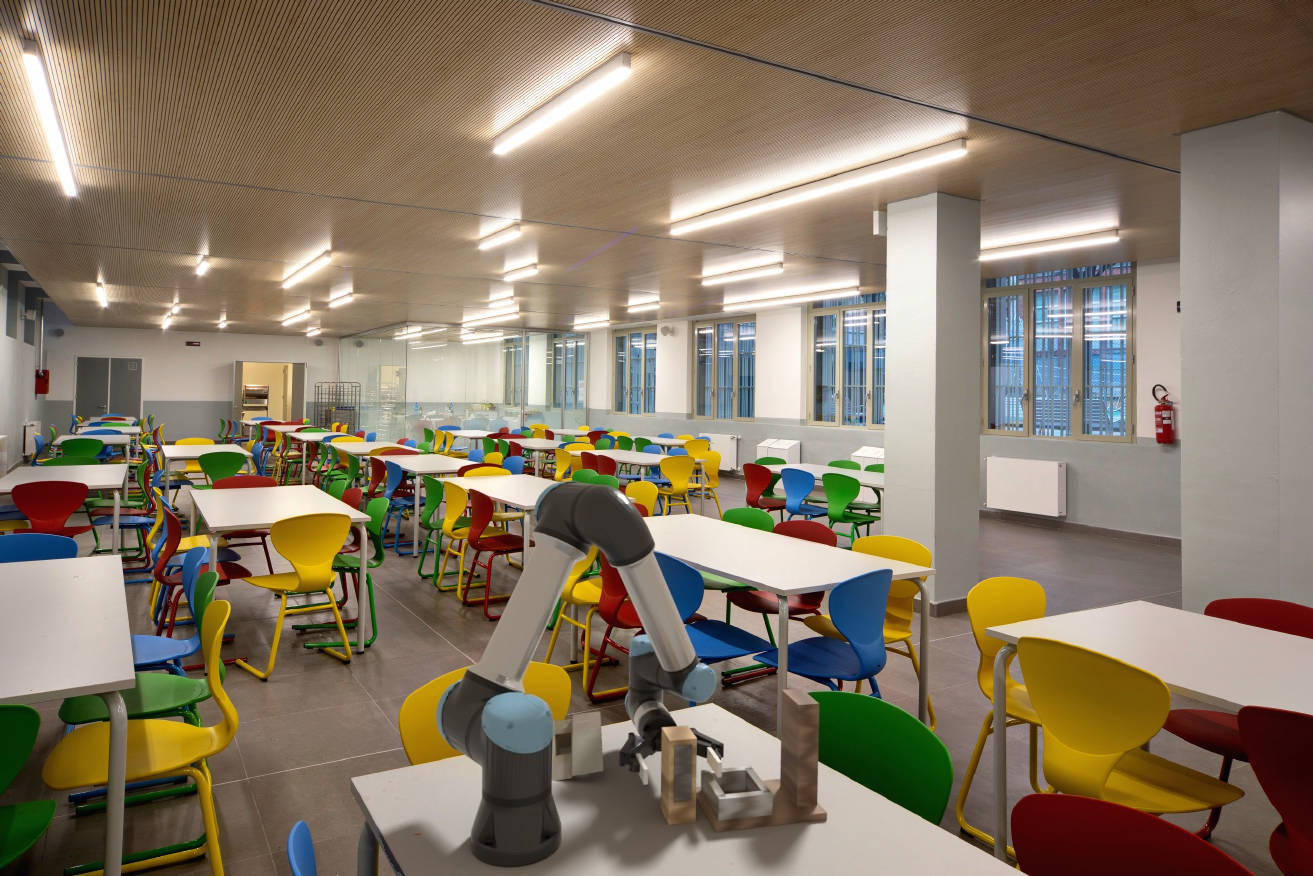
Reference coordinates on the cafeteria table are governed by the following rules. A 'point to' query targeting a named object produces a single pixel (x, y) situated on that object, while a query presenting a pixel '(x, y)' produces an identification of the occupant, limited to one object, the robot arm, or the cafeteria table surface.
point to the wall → (577, 746)
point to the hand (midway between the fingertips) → (683, 773)
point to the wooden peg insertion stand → (771, 801)
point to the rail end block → (678, 774)
